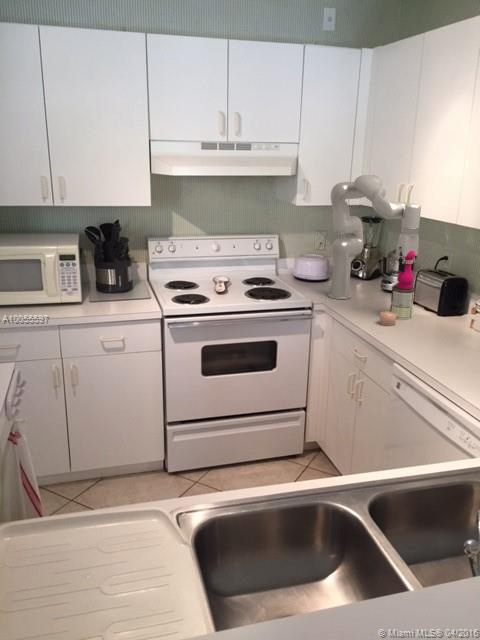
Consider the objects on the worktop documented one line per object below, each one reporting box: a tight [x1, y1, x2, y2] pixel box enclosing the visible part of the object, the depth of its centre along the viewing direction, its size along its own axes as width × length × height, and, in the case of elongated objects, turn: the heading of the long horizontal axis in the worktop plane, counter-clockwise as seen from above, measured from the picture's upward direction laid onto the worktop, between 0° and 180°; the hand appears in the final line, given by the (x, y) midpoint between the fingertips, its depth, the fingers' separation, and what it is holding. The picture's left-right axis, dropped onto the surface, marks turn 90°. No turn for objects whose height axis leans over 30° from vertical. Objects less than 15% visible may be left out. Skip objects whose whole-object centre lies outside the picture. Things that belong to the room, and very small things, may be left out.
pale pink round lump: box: [379, 310, 397, 327], centre depth 242 cm, size 7×7×5 cm
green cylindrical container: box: [389, 284, 416, 320], centre depth 251 cm, size 10×10×14 cm
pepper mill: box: [396, 251, 415, 290], centre depth 246 cm, size 7×7×20 cm
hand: (405, 270), depth 247 cm, fingers open, 5 cm apart
